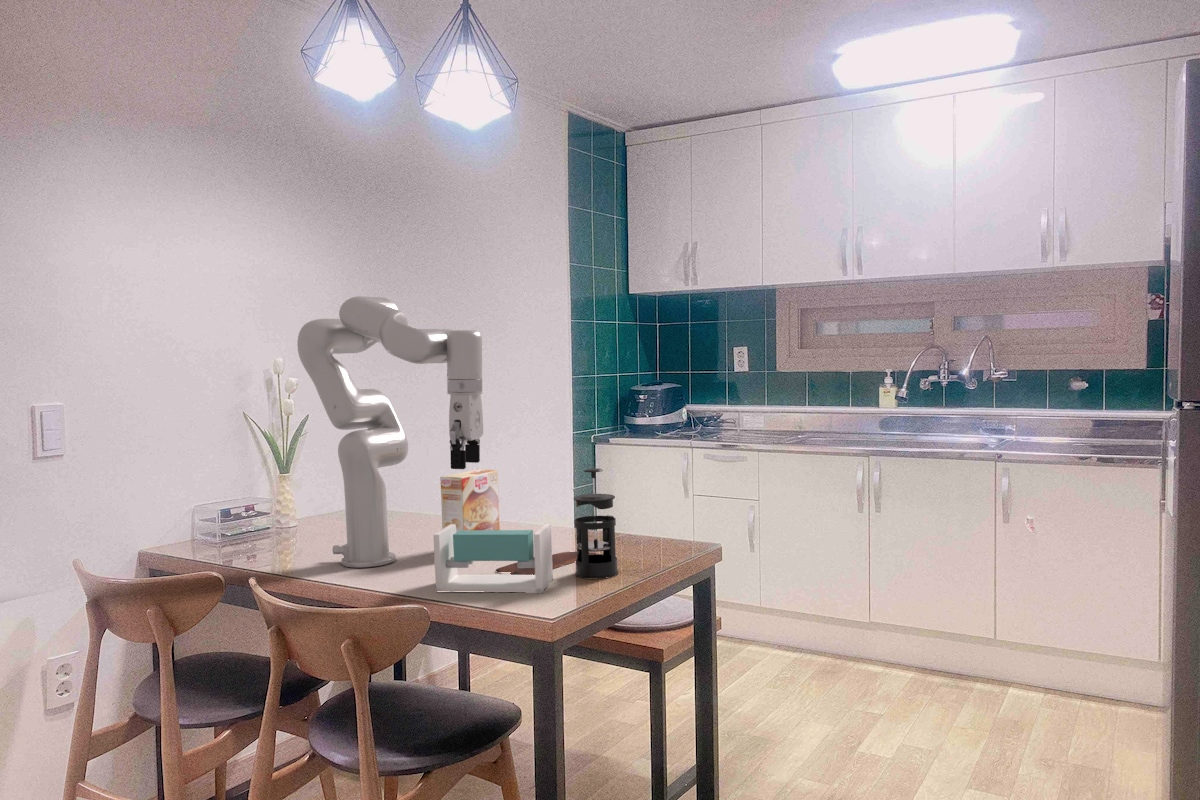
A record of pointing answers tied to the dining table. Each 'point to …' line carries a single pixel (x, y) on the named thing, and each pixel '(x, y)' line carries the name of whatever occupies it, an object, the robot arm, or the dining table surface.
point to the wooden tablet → (557, 561)
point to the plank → (493, 545)
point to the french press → (595, 563)
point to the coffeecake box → (470, 500)
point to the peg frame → (492, 583)
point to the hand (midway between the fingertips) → (465, 465)
